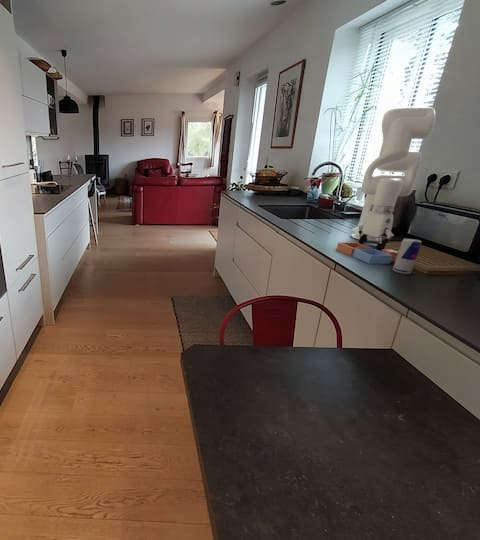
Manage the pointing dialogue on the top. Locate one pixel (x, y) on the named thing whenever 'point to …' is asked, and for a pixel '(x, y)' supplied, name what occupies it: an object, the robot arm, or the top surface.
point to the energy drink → (407, 256)
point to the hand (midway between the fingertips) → (369, 249)
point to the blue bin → (372, 256)
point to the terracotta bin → (350, 247)
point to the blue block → (370, 245)
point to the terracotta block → (391, 253)
